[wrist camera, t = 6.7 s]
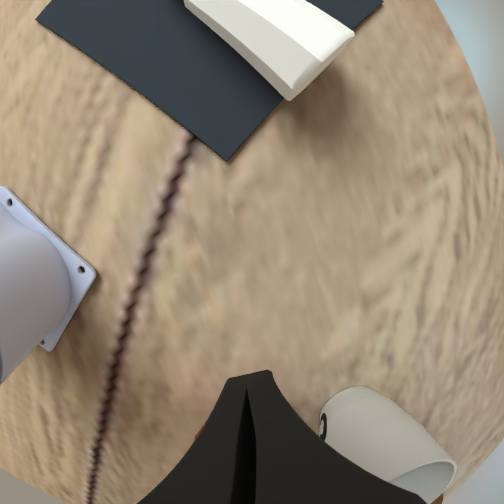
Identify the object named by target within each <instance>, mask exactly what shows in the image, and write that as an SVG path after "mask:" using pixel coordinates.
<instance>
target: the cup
mask: <svg viewBox="0 0 504 504" xmlns="http://www.w3.org/2000/svg"><path fill="white" fill-rule="evenodd" d="M319 437H320V438H321V439H322V440H324V441H325V442H326V443H327V444H328V445H329V446H331V447H332V448H333V449H335V450H336V451H337V452H338V453H340V454H341V455H343V456H344V457H346V458H347V459H349V460H350V461H352V462H353V463H355V464H356V465H358V466H360V467H361V468H363V469H364V470H366V471H368V472H369V473H371V474H373V475H375V476H377V477H379V478H381V479H383V480H385V481H387V482H389V483H391V484H393V485H396V486H398V487H400V488H403V489H405V490H408V491H410V492H413V493H416V494H418V495H419V496H420V497H421V498H422V499H423V500H424V501H425V502H426V503H427V504H431V503H432V502H433V501H434V500H435V499H437V498H438V497H439V496H440V495H441V494H442V493H443V492H444V490H445V489H446V488H447V487H448V486H449V484H450V483H451V481H452V480H453V478H454V476H455V474H456V470H457V465H456V463H455V461H454V460H453V459H452V458H451V457H450V456H449V455H448V454H447V453H446V451H445V450H444V449H443V448H442V447H441V446H440V445H439V444H438V443H437V441H436V440H435V439H434V438H433V437H432V436H431V435H430V434H429V433H428V432H427V430H426V429H425V428H424V427H423V426H422V425H421V424H420V423H419V422H417V421H416V420H415V419H414V418H413V417H411V416H410V415H409V414H408V413H407V412H405V411H404V410H403V409H402V408H401V407H399V406H398V405H397V404H396V403H395V402H393V401H392V400H390V399H388V398H387V397H385V396H383V395H381V394H380V393H378V392H376V391H374V390H372V389H371V388H368V387H364V386H357V387H351V388H348V389H345V390H343V391H341V392H339V393H337V394H336V395H334V396H333V397H332V398H331V399H330V400H329V401H328V402H327V403H326V404H325V405H324V407H323V408H322V410H321V413H320V422H319Z"/></svg>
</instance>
